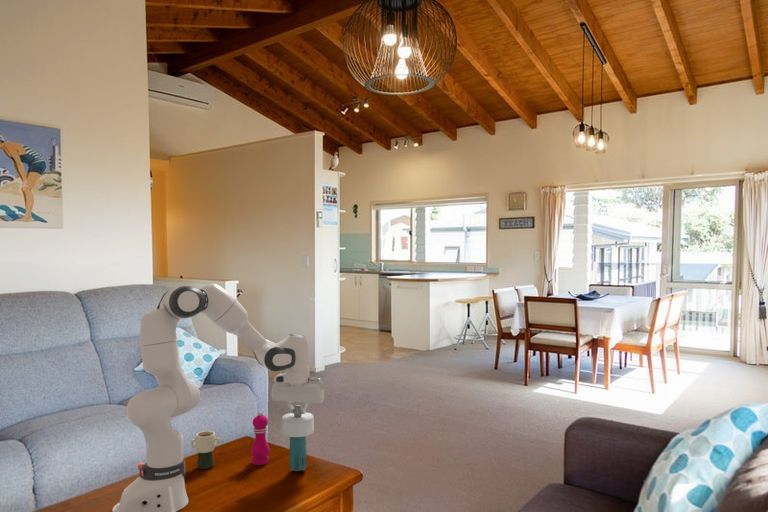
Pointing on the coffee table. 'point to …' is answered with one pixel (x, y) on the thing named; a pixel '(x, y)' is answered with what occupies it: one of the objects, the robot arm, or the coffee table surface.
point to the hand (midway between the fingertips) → (297, 413)
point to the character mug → (205, 448)
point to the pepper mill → (260, 440)
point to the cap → (297, 423)
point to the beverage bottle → (297, 453)
